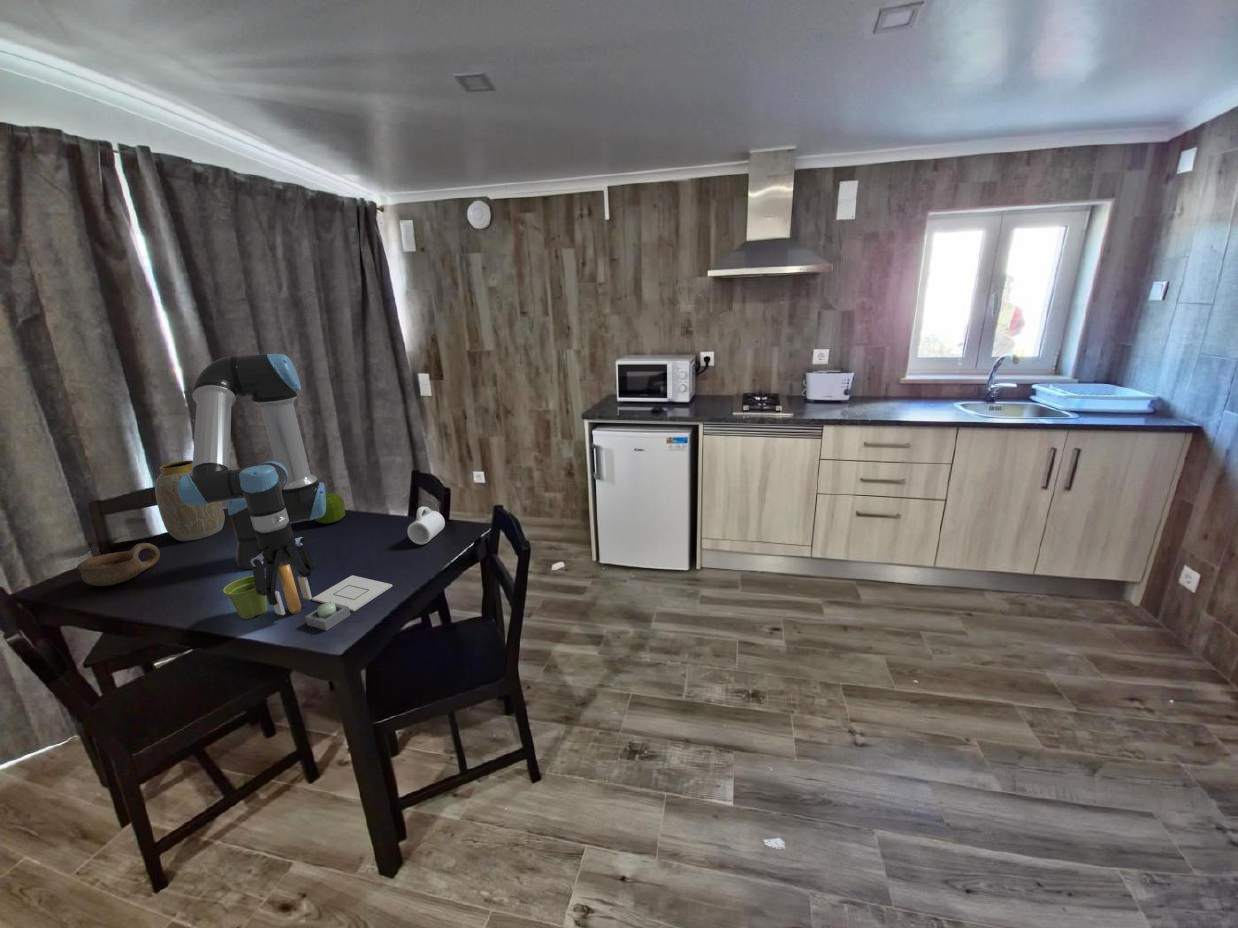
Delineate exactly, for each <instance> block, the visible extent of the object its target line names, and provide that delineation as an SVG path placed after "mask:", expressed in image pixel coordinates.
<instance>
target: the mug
mask: <svg viewBox="0 0 1238 928" xmlns="http://www.w3.org/2000/svg"><path fill="white" fill-rule="evenodd" d="M424 511H425V513H423V512H424ZM445 521H446V520H445V518H444V516H443V515H442V514H441V513H440V512H438V511H436V510H432V509H431V508H430V507H427V506H420V507H418V509H417V510H416V519H415V520H414V521H413V522H412V523H410V524H409V525H408V527H407V536H408V538H409V540H411V542H413V543H414V544H416V545H421V546H422V545H425V544H428V542H430V541H431V540H432V539H433V538H434V537H436V536H437V535H438V534H439V533H440V532H442V531H443V530H444V528H445V525H446V522H445Z"/></svg>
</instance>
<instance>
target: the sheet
mask: <svg viewBox="0 0 1238 928" xmlns="http://www.w3.org/2000/svg"><path fill="white" fill-rule="evenodd" d="M392 587H393V584H392V583H387V582H383V581H379V580H375V579H370V578H366V577H362V576H357V575H353V574H352V575H350V576H349V577H348V576H347V578H345V579H343V580H341V581H340V582H338V583H336V584H335V585H333V586H331V587H329V588H328V589H326V590H324V591H323V592H320V593H319V594H317V595H316V596H314V597H312V599H311V600H312V601H314V602H318V603H321V604H324V603H327V602H333V603H337V604H340V605H344V606H348V607H349V610H350V612H356V611H357V610H359V609H360V608H361V607H363V606H365V605H366V604H368V603H369V602H371V601H372V600H374V599H375V598H377V597H378V596H380V595H381V594H383V593H384V592H386V591H387V590H389V589H390V588H392Z"/></svg>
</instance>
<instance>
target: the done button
mask: <svg viewBox="0 0 1238 928" xmlns="http://www.w3.org/2000/svg"><path fill="white" fill-rule="evenodd" d="M316 610H317V611H318V615H319V617H320V618H323V619H326V618H328V617H329V616H331V615H333V614H334V613H336V612H337V611H336V607H335V603H333V602H327V603H321V604H320V605H318V606H317V608H316Z"/></svg>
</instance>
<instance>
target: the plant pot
mask: <svg viewBox="0 0 1238 928" xmlns="http://www.w3.org/2000/svg"><path fill="white" fill-rule="evenodd" d="M265 579H266V575H265ZM222 592H223V594H225V595H226V596H227V597H228V598H229V599H230V601H231V603H232V605H233V607H234V609H235V610H236V612H237V614H238V616H239V617H240V618H241V619H243V620H248V619H253V618H254V617H256V616H260V615H261V616H262V615H263V614H264V613H266V611H268V601H267V600H268V598H267V595H266V596H262V595H259V594H257V593H256V587H255V581H254V575H250V576H246V577H242V578H240V579H237V580H234V581H232V582H230V583H229V584H227V585H226V586H224V588H223V589H222Z"/></svg>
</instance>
